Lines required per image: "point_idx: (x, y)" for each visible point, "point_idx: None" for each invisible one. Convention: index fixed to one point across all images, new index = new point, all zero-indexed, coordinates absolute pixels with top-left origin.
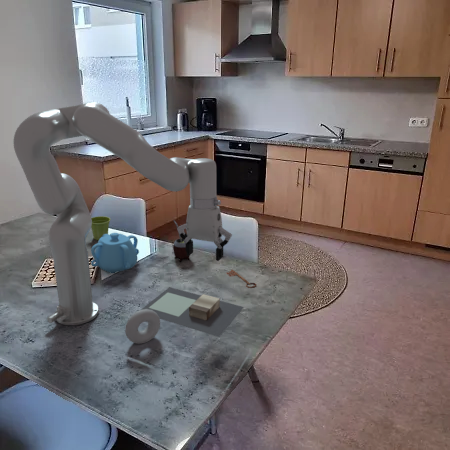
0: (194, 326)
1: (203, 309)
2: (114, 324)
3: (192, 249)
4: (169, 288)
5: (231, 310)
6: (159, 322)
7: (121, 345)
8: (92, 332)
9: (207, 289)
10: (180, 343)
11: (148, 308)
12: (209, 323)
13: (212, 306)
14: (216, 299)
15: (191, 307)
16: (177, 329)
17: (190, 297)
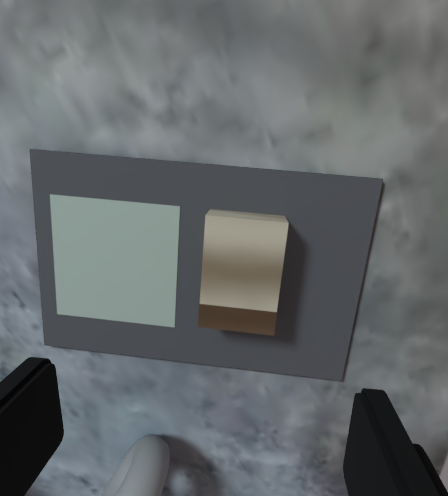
0: (246, 358)
1: (255, 324)
2: None
3: (32, 400)
4: (36, 160)
5: (338, 224)
6: (165, 477)
7: (106, 471)
8: None
9: (180, 85)
10: (240, 426)
11: (59, 317)
12: (286, 328)
13: (279, 289)
14: (277, 235)
15: (207, 326)
16: (201, 375)
17: (149, 194)
